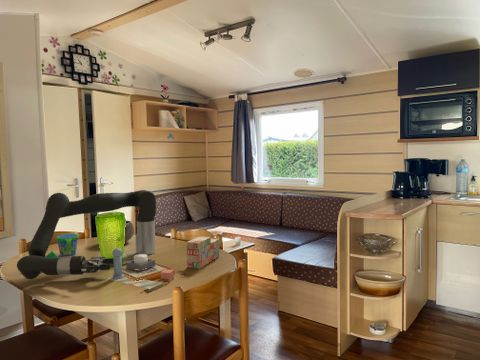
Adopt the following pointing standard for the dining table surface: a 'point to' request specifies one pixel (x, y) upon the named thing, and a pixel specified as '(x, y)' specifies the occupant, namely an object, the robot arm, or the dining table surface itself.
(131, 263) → the popper housing
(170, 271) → the die
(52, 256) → the building blocks
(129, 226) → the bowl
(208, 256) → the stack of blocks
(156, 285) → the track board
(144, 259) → the white rounded block
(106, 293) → the dining table surface
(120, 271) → the pawn
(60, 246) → the snack cup
